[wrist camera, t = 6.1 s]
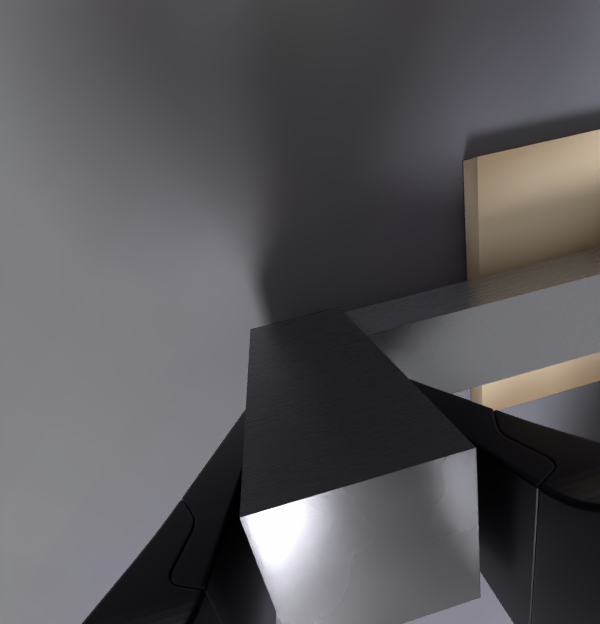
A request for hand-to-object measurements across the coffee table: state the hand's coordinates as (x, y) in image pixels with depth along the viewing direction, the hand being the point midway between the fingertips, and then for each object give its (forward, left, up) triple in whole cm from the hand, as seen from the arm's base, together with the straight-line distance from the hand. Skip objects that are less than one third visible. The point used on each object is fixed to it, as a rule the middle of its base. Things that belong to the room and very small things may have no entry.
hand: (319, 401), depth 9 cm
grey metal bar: (0, -10, -3) cm, 10 cm away
